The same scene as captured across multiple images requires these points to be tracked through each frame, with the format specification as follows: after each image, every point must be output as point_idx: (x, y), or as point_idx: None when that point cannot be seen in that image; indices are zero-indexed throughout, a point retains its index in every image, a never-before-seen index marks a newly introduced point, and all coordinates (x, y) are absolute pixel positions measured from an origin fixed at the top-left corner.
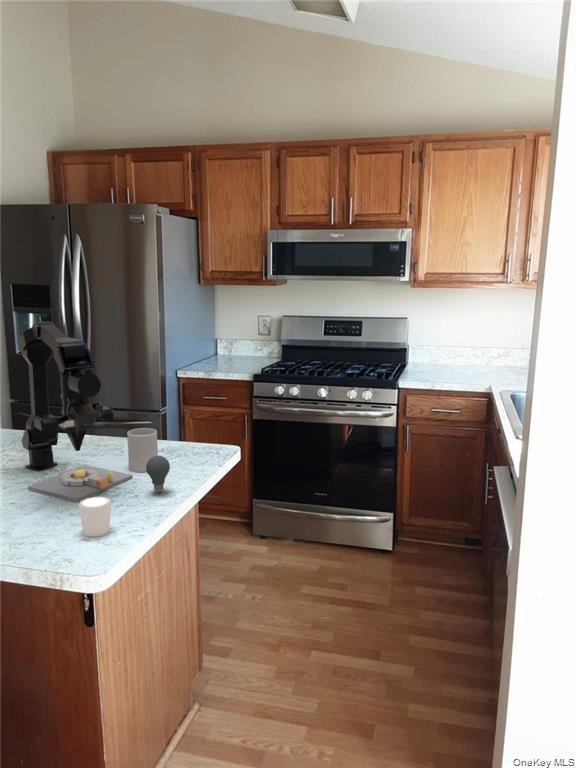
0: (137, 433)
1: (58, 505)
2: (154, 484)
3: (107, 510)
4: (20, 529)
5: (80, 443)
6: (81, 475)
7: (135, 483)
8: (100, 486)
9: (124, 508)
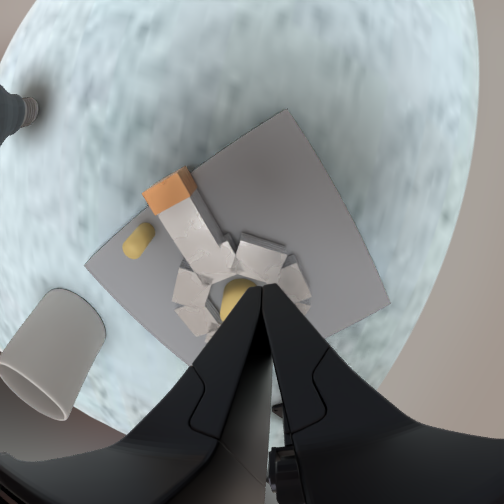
0: (56, 406)
1: (351, 118)
2: (23, 100)
3: None
4: (454, 23)
5: (236, 324)
6: (237, 293)
7: (80, 213)
8: (181, 169)
9: (144, 3)
